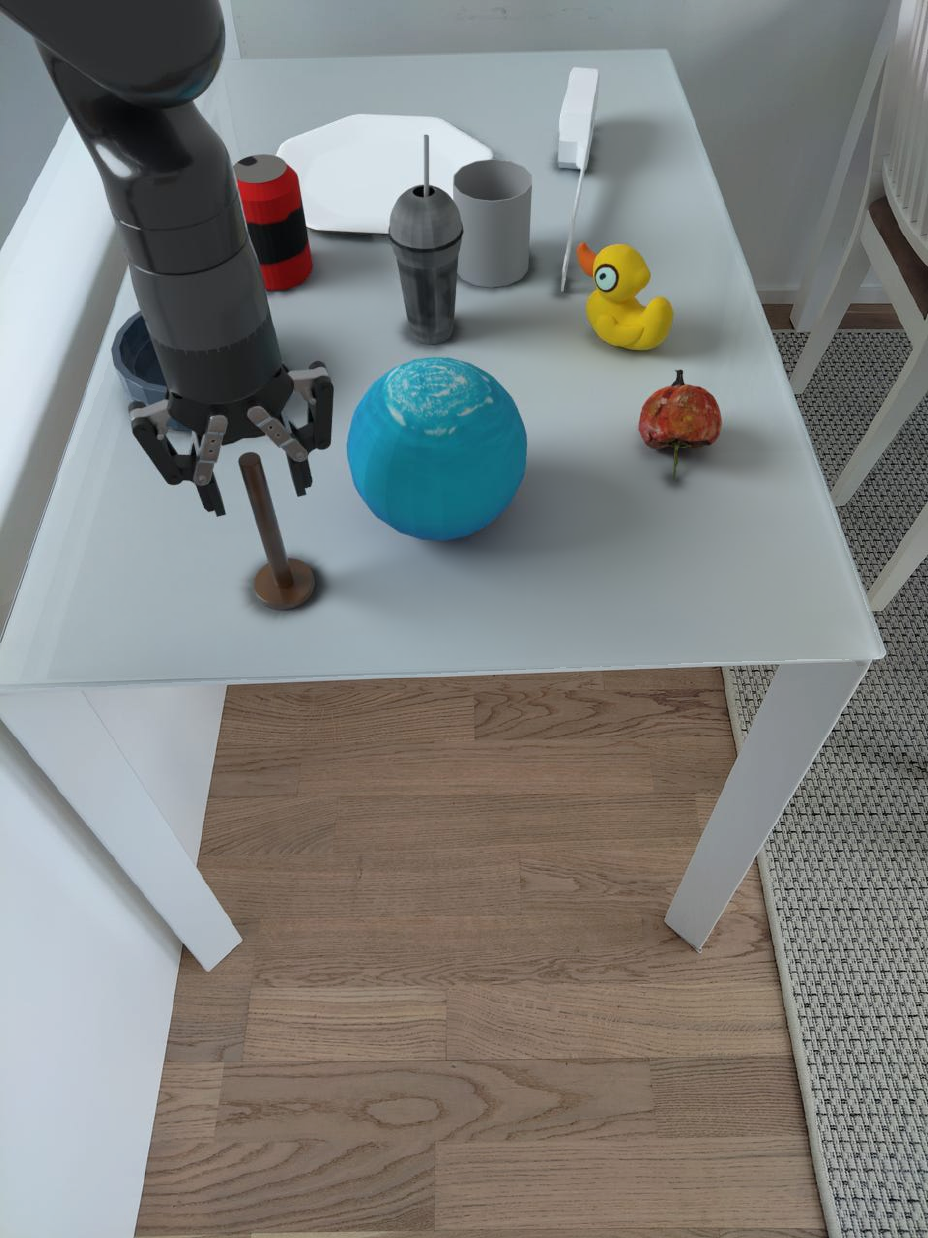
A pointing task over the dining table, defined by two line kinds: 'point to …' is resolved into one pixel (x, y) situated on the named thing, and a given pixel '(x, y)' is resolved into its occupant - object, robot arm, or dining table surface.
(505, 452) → the decorative orb
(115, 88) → the robot arm
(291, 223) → the soda can
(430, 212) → the beverage cup
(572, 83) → the spatula
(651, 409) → the orange red pumpkin
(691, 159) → the dining table surface
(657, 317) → the duckling
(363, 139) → the plate
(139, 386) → the bowl
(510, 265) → the cup
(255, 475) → the stirrer
